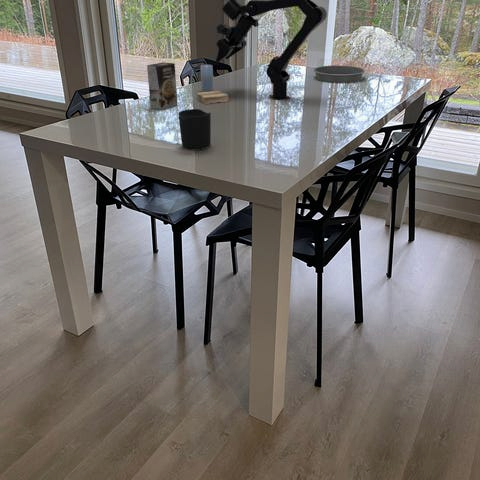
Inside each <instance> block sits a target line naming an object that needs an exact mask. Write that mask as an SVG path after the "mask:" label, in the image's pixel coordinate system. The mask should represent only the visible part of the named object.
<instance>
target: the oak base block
mask: <svg viewBox="0 0 480 480" xmlns="http://www.w3.org/2000/svg"><path fill="white" fill-rule="evenodd" d="M196 100H197V101H199V102H201V103H202V104H204V105H210V103H212V104H218V103H217V102H221V103H227V101H228V102H229V94H227V93H224V92H222V91H220V90H213V91H210V92H202V91H201V92H196Z"/></svg>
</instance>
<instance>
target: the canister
mask: <svg viewBox="0 0 480 480" xmlns="http://www.w3.org/2000/svg"><path fill="white" fill-rule="evenodd" d="M213 66H214V65H212V64H201V65H200V82H201V83H200V85H201V86H200V87H201V92H210V91H214V73H213V72H214V69H213Z"/></svg>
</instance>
